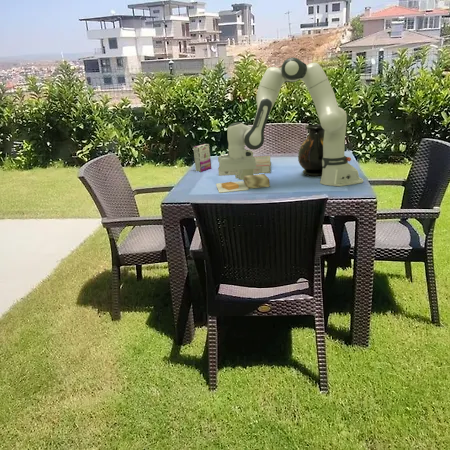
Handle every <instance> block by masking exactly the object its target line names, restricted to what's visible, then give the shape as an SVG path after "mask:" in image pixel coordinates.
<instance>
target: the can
mask: <svg viewBox="0 0 450 450" xmlns="http://www.w3.org/2000/svg"><path fill="white" fill-rule="evenodd" d="M238 172H239V174H240V170H238ZM249 175H255V174H254V173H253V169H247V170H243V172H242V174H241V178H238V180H239V181H244V176H249Z"/></svg>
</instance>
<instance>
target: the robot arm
mask: <svg viewBox="0 0 450 450" xmlns="http://www.w3.org/2000/svg"><path fill="white" fill-rule="evenodd" d="M299 80H301V81H302V82H303V83H304V84H305V86H306V88H307V91H308V93H309V95H310V98H311V99H312V102H313V103H314V107H315V111H316V113H317V117H318V119H319V123H320V124H321V126H322V128H323V129H324V130H325V132H324V140H323V157H322V167H323V170H322V176H320V181H319V183H320V185H325V186H331V187H332V186H334V187H344V186H349V185H358V184H362V183H364V179H363V177H360V173H359V171H358V169H357V168H356V167H354V166H353V165H352V164H350V163H349V162H351V161H352V158H351V157H350V156H346V155H345V152H346V151H345V145H346V144H345V141H346V140H345V139H346V132H347V122H348V121H347V119H348V116H347V112H346V111H345V109H344V108H342V107H339V105H338V102H337V99H336V94H335V92H334V89H333V87H332V84H331V82H330V81H329V78H328V76H327V75H326V73H325V71H324V69H323V68H322V66H321V65H320V64H319V62H318V63H317V62H311V63H308V64H307V63H305V62H303V61H302V60H301V59H298V58H297V57H289V58H286V59H285V60H284V61H283V63H282V65H281V67H276V66H270V67H268V68H267V69H266V70H265V72H264V74H263V76H262V78H261V80H260V82H259V85H258V87H257V92H256V96H255V97H256V98H255V100H256V101H255V102H256V108H257V109H256V113H255V114H256V115H255V117H254V120H253V124H252V127H251V126H250V125H249V126H248V125H246V124H244V123H243V122H242V121H238V122H232V123H230V124H229V125H228V127H227V130H226V131H227V143H228V146H227V149H228V150H227V151H228V153H225V154H220V155H219V156H218V157H217V161H218V163H219V165H218V168H219V170H220V171H221V172H226V171H233V173H234V174H235V175H234V176H235V179H239V178H241V174H242V172H243V170H247V169H255V168H256V161H255V158H254V157H255V156H254V152H253V151H252V150H254V151H255V150H258V149H261V148H262V146H263V145H264V142H265V135H264V134H265V130H266V129H265V128H266V125H267V122H268V119H269V116H270V113H271V111H272V109H273V107H274V105H275V103H276V102H277V99H278V97H279V94H280V91H281V88H282V86H283V84H284V83H297V82H298V81H299ZM246 147H247V148H248V149H245V148H246ZM237 170H240V174H239V175H236V171H237Z"/></svg>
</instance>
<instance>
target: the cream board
mask: <svg viewBox="0 0 450 450" xmlns="http://www.w3.org/2000/svg"><path fill="white" fill-rule="evenodd" d="M232 182H233V183H236V184H238V185H239V188H237V189H232V190H228V189H225V188H223V187H222V184H221V183H222V182H219V183H215V186H216V188H217V190H218V194H223V193H225V194H226V193H234V191H235V192H244V191H250V189H248V187H247V186H246V184H245V183H244V180H239V181H238V180H237V181H232Z"/></svg>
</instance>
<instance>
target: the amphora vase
mask: <svg viewBox="0 0 450 450" xmlns="http://www.w3.org/2000/svg"><path fill="white" fill-rule="evenodd" d="M304 128H305V129H306V130H307V131H308V136H307V137H306V139H305V140H304V141H303V142H302V143H301V145H300V147H299V150H298V155H297V161H298V164H299V165H300V166H301V167H302V169H303V171H302V174H303V175H304V176H307V177H314V178H315V177H316V178H317V177H319V178H321V177H322V170H323V167H322V157H323V140H324V133H325V130H324V129H323V128H322V126H321V123H320V124H318V123H317V124H310V125H309V124H308V125H305V127H304Z"/></svg>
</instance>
